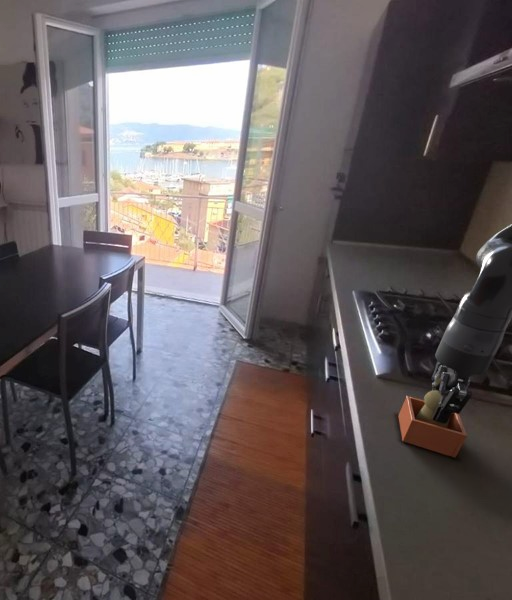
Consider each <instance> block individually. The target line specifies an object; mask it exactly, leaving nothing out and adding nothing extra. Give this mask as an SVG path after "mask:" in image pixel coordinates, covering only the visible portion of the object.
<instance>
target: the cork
mask: <svg viewBox="0 0 512 600" xmlns="http://www.w3.org/2000/svg"><path fill="white" fill-rule="evenodd" d="M440 396H441V395H440V394H439V393H438V391H435V390H433V391H432V390H430V391H428V392H427V393H426V394H424V397H423V400H424V403H425V405H424V406H423V408H422V409H421V410H420V412H419V413H418V415H417V416H416V417H415V420H419V421H423V422H426V423H430V424H433V425H437V426H440V427H444V428H447V426H448V423H449V420H448V422H447V423H445V424H444V423H440V422H436V421H434V420H433V418H432V416H433V414H434V412H435V410H436V408H437V405H438V402H439V400H440ZM446 398H447V397H446ZM446 398H445V399H446ZM452 414H453V412H452ZM449 419H450V418H449Z"/></svg>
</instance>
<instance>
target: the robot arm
mask: <svg viewBox="0 0 512 600" xmlns="http://www.w3.org/2000/svg"><path fill="white" fill-rule="evenodd" d="M475 261H476V264H477V267H478V268H479V269H480V271H479V274H478V277H477V279H476V281H475V283H474V285H473V286H472V288H471V289H470V290H467V291H466V292H465V293H464V294H463V296H462V298H461V299H460V301H459V302H458V303H459V304H458V305H457V308H456V310H455V312H454V314H453V317H452V319H450V322H449V323H448V324H447V326H446V328H445V331H444V333H443V335H442V337H441V340H440V342H439V344H438V347H437V349H436V352H435V354H434V358H435V359H436V361H437V362H436V364H435V368H434V371H433V372H432V376H431V381H433V382H432V383H431V387H432V389H431V391H433V390H435V391H438V393H439V394H440V395H441V396H440V400H439V402H438V405H437V408H436V410H435V412H434V414H433V416H432V418H433V420H434V421H436V422H440V423H444V424H445V423H447V422H448V420H449V418H450V416H451V414H452V412H453V413H457V414H459V415H460V414H461V412H462V411H463V409H464V407H465V406H466V405H467V403H468V402H469V401H470V399H471V398H472V396H473V392H472V391H470V390H467V388H469V386H470V384H471V378H470V377H471V376H474V375H483V374H485V373H487V371H488V370H489V367H490V365H491V364H492V361H493V360H494V358H495V356H496V354H497V353H498V351H499V348H500V346H501V344H502V342H503V340H504V337H505V333H506V331H507V329H508V327H509V324H510V322H511V321H512V223H511V224H509V225H508V226H506V227H504V228H503V229H501V230H500V231H499V232H497V233H495V234H494V235H492V236H491V237H490V238H489V239H488V240H487V241H485V242H484V243H483V245H482V246H481V247H480V248H479V250H478V251H477V253H476V256H475ZM446 397H447V398H446ZM445 398H446V399H445Z"/></svg>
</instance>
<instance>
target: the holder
mask: <svg viewBox="0 0 512 600" xmlns="http://www.w3.org/2000/svg"><path fill="white" fill-rule="evenodd" d="M424 405H425V403H424V399H420V398H416V397H413V396H410V395H406V397H405V400H404V402H403V404H402V406H401V409H400V411H399V414H398V415H397V416H398V423H399V428H400V434H401V441H402V442H404V443H407V444H411V445H414V446H417V447H419V448H423V449H425V450H429V451H432V452H436V453H438V454H442V455H445V456H447V457H452V458H455V459H456V457H457V456H458V454H459V452H460V450H461V448H462V447H463V445H464V443H465V441H466V440H467V438H468V434H467V432H466V429H465V427H464V424H463V421H462V419H461V416H460V413H459V414H457V413H453V414H451V416H450V419H449V423H448V426H447V428H444V427H440V426H437V425H433V424H430V423H426V422H423V421H419V420H415V417H416V416H417V415H418V413H419V412H420V410H421V409H422V408H423V406H424Z"/></svg>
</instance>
